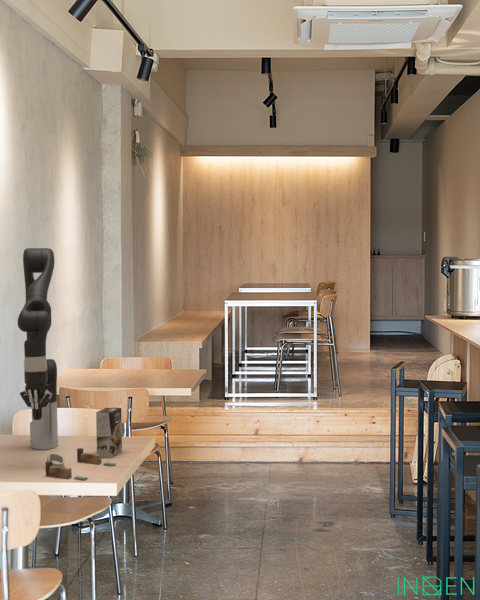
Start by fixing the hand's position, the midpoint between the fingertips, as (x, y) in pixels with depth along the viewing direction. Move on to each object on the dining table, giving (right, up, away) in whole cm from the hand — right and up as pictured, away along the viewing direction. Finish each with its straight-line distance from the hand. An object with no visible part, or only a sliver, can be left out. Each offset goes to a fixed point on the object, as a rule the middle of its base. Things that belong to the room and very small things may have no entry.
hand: (37, 419), depth 221 cm
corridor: (+14, -16, -5) cm, 22 cm away
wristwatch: (+7, -16, -2) cm, 18 cm away
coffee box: (+22, -15, +13) cm, 30 cm away
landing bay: (+22, -16, -8) cm, 28 cm away
